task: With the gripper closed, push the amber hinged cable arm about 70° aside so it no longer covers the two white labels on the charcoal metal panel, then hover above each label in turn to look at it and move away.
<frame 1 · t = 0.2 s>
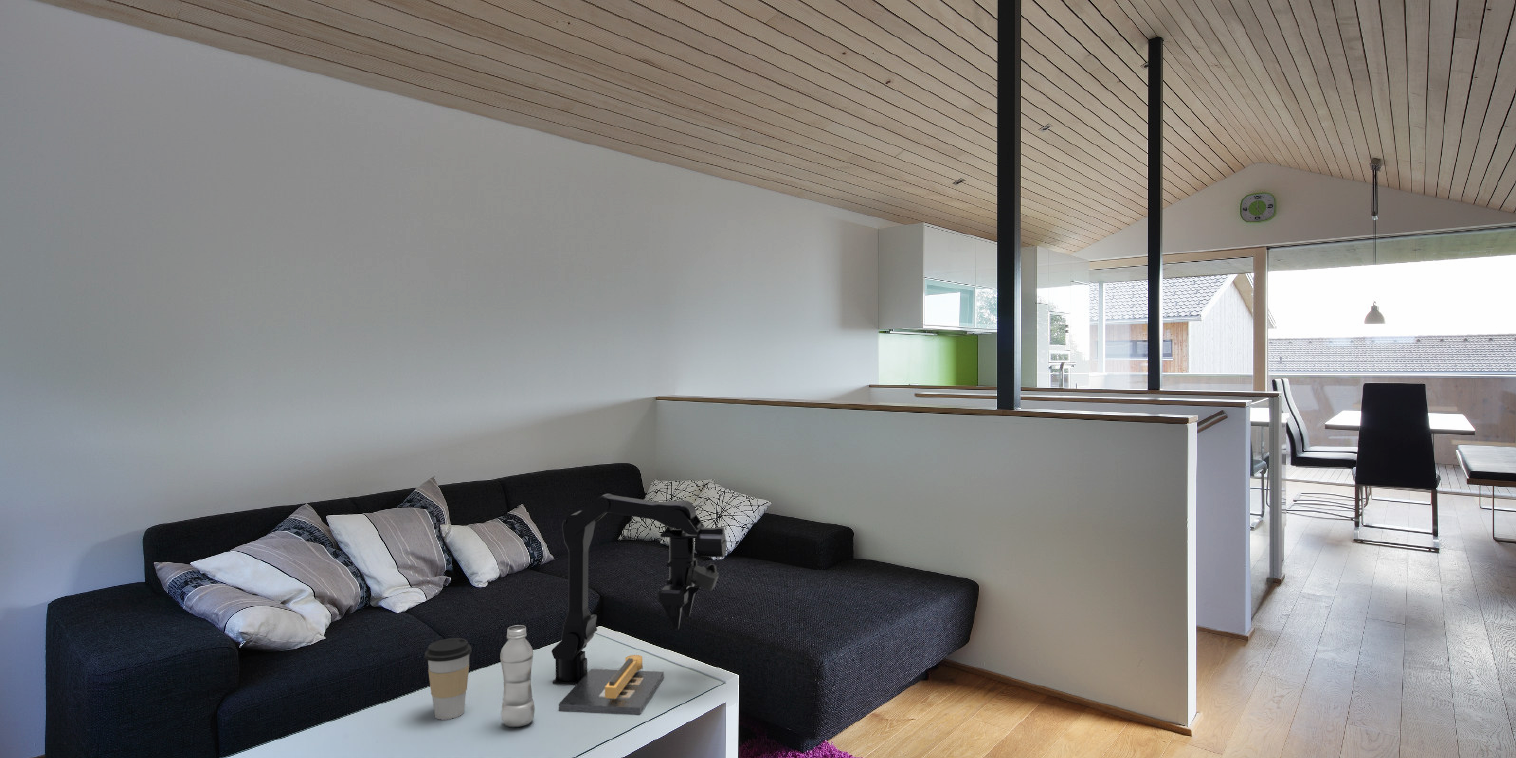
hand: (681, 622, 178), 14 cm above the table, tool pointing down, fingers open, 9 cm apart
plastic bottle: (518, 725, 159), on the table
coffee cup: (449, 714, 164), on the table
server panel: (614, 693, 174), on the table
cable arm: (624, 673, 175), point 4 cm above the table, hinge at 0.0°
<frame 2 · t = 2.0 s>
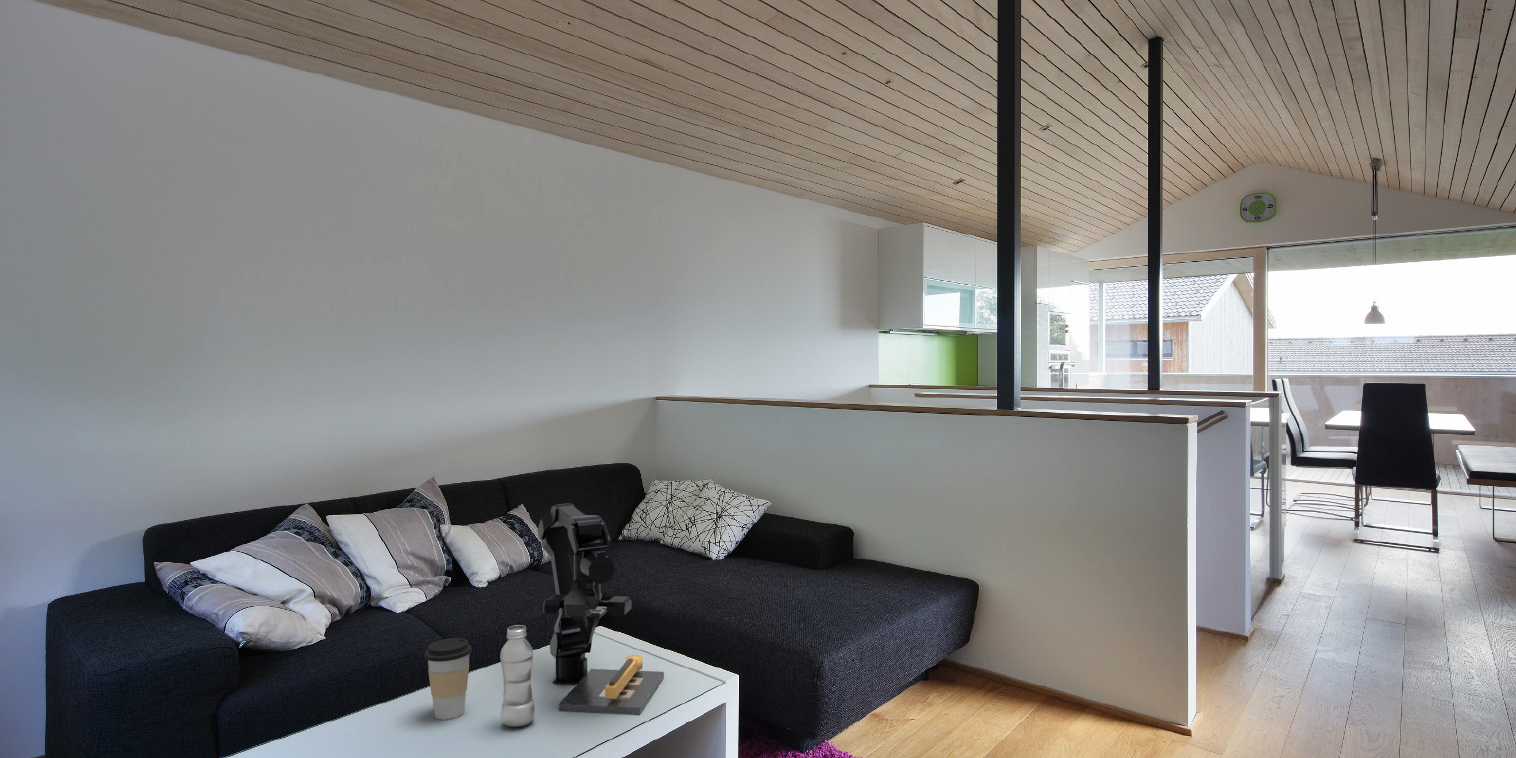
hand: (587, 643, 171), 13 cm above the table, tool pointing down, fingers closed
nothing on the table moved.
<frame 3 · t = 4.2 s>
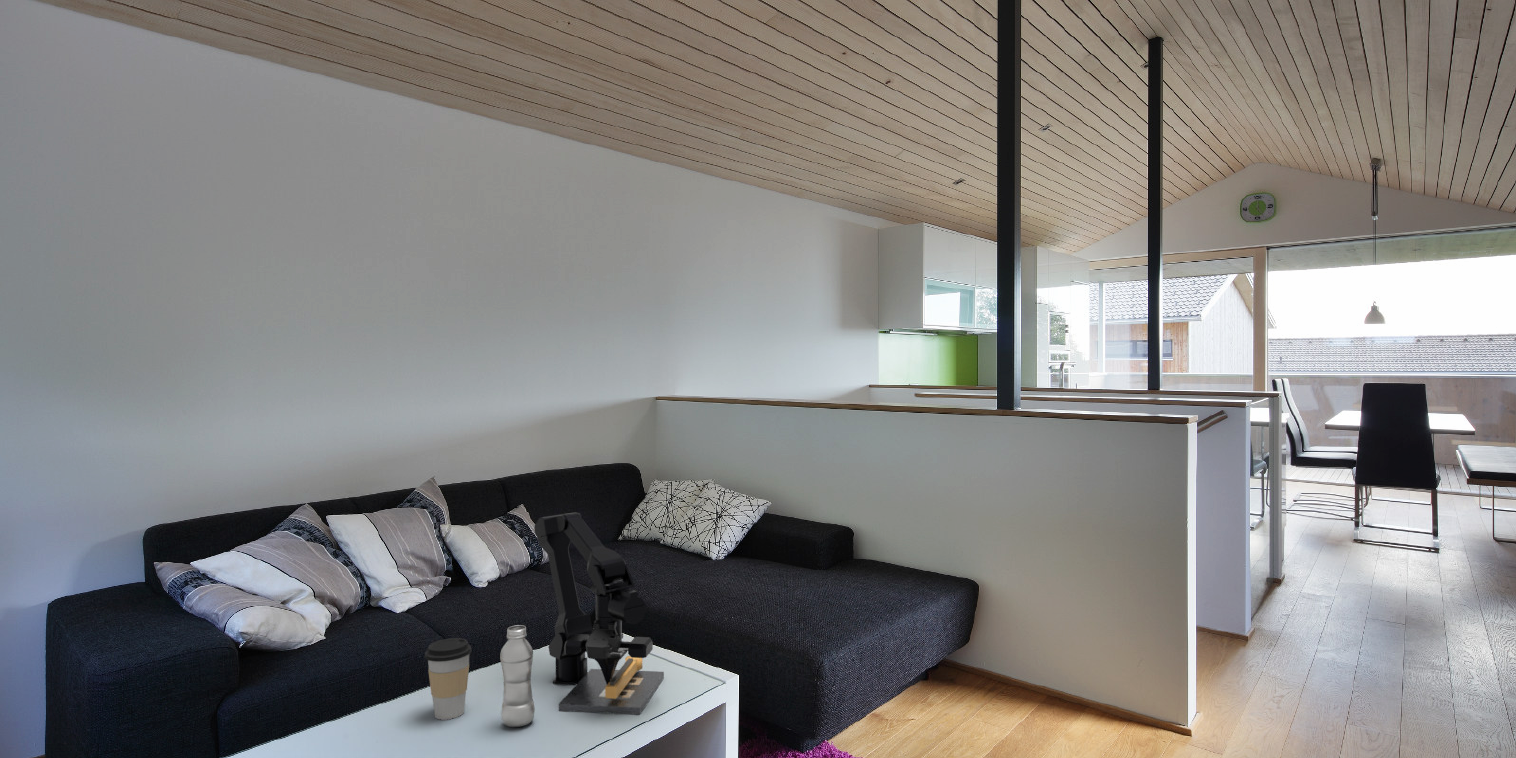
hand: (608, 684, 170), 4 cm above the table, tool pointing down, fingers closed
cable arm: (624, 673, 175), point 4 cm above the table, hinge at 0.3°, touching gripper
everything else where it was.
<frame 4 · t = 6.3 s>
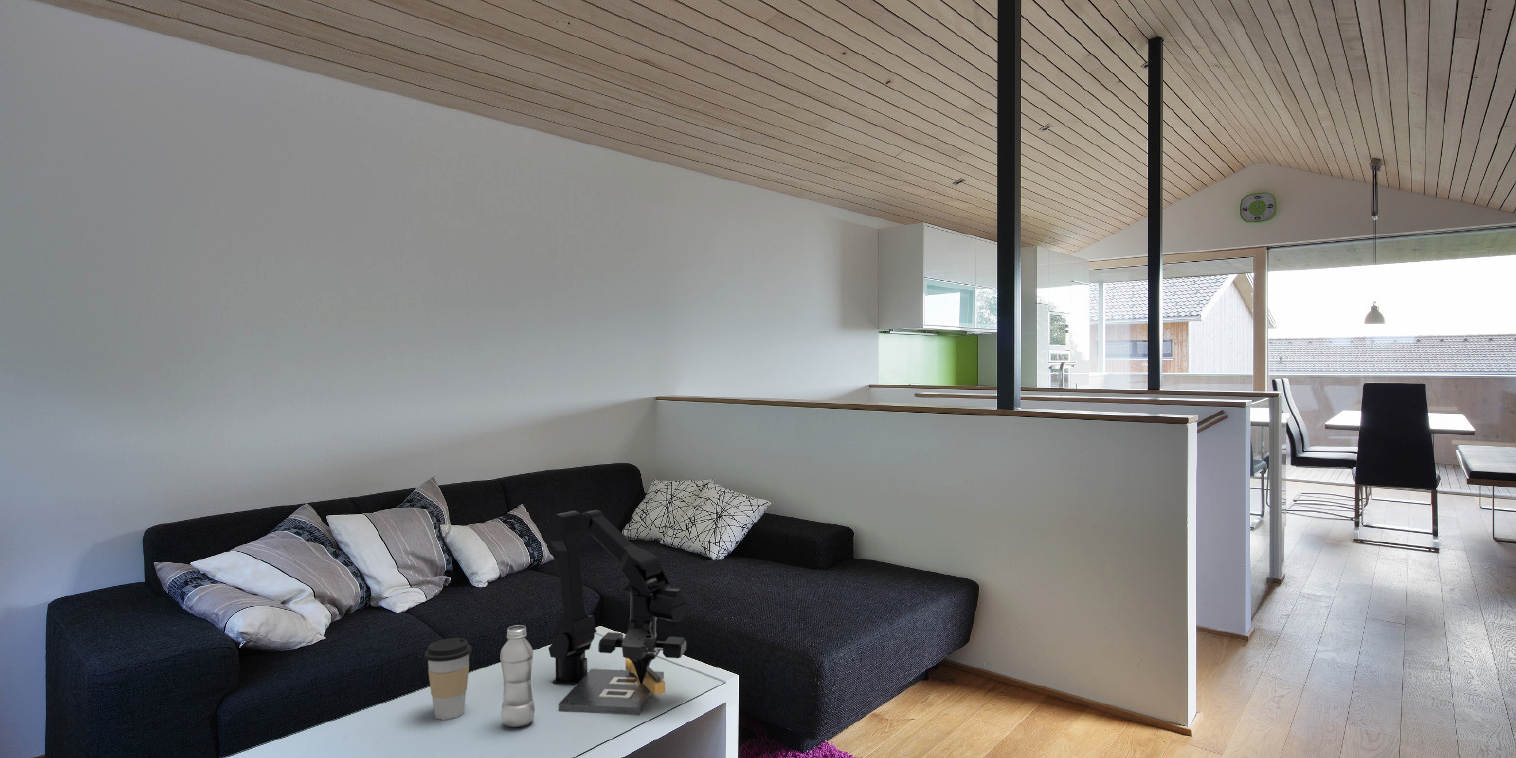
hand: (641, 683, 171), 4 cm above the table, tool pointing down, fingers closed
cable arm: (644, 672, 176), point 4 cm above the table, hinge at 35.7°, touching gripper
everything else where it was.
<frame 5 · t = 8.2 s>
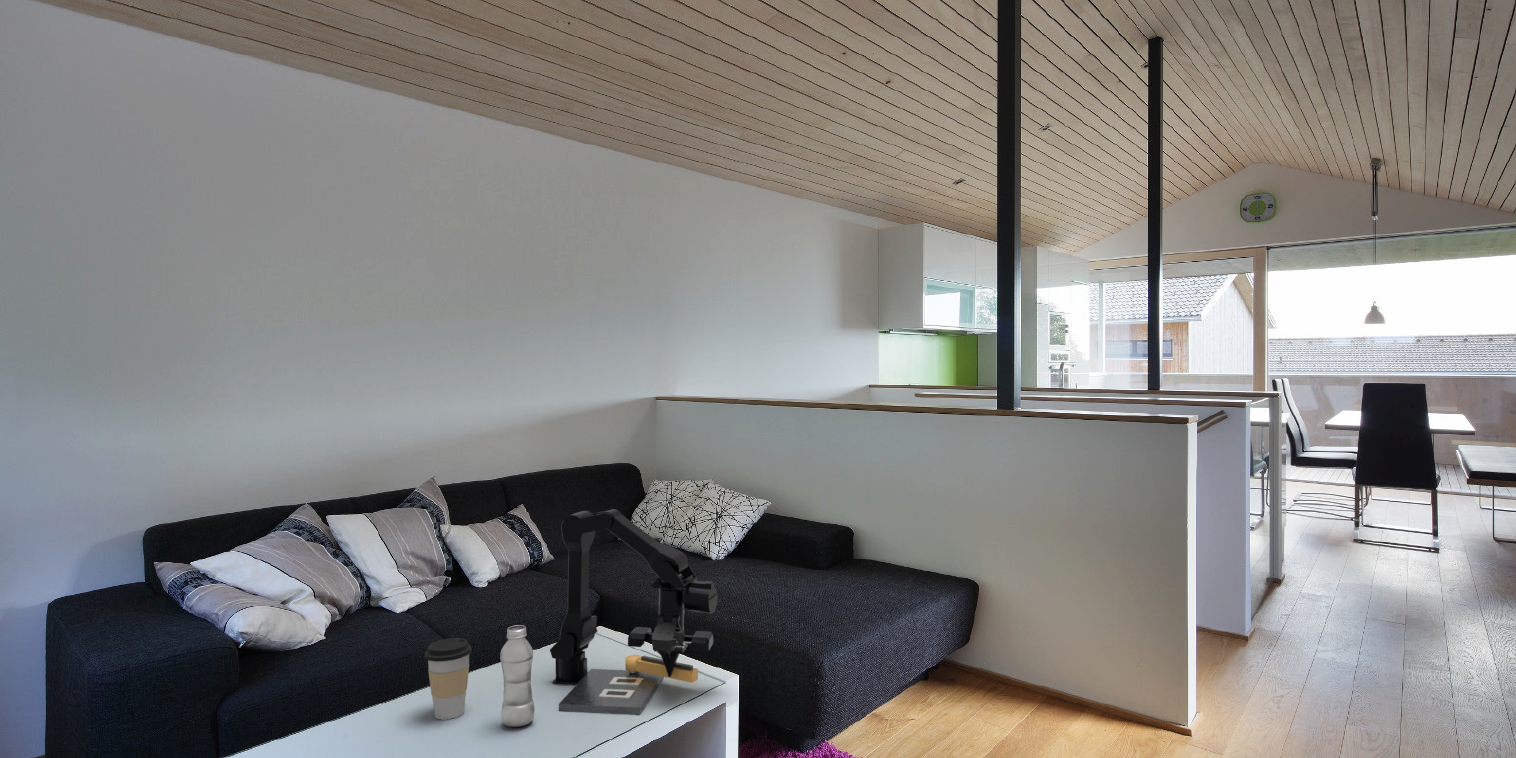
hand: (670, 676, 175), 3 cm above the table, tool pointing down, fingers closed
cable arm: (660, 666, 179), point 4 cm above the table, hinge at 69.0°, touching gripper
everything else where it was.
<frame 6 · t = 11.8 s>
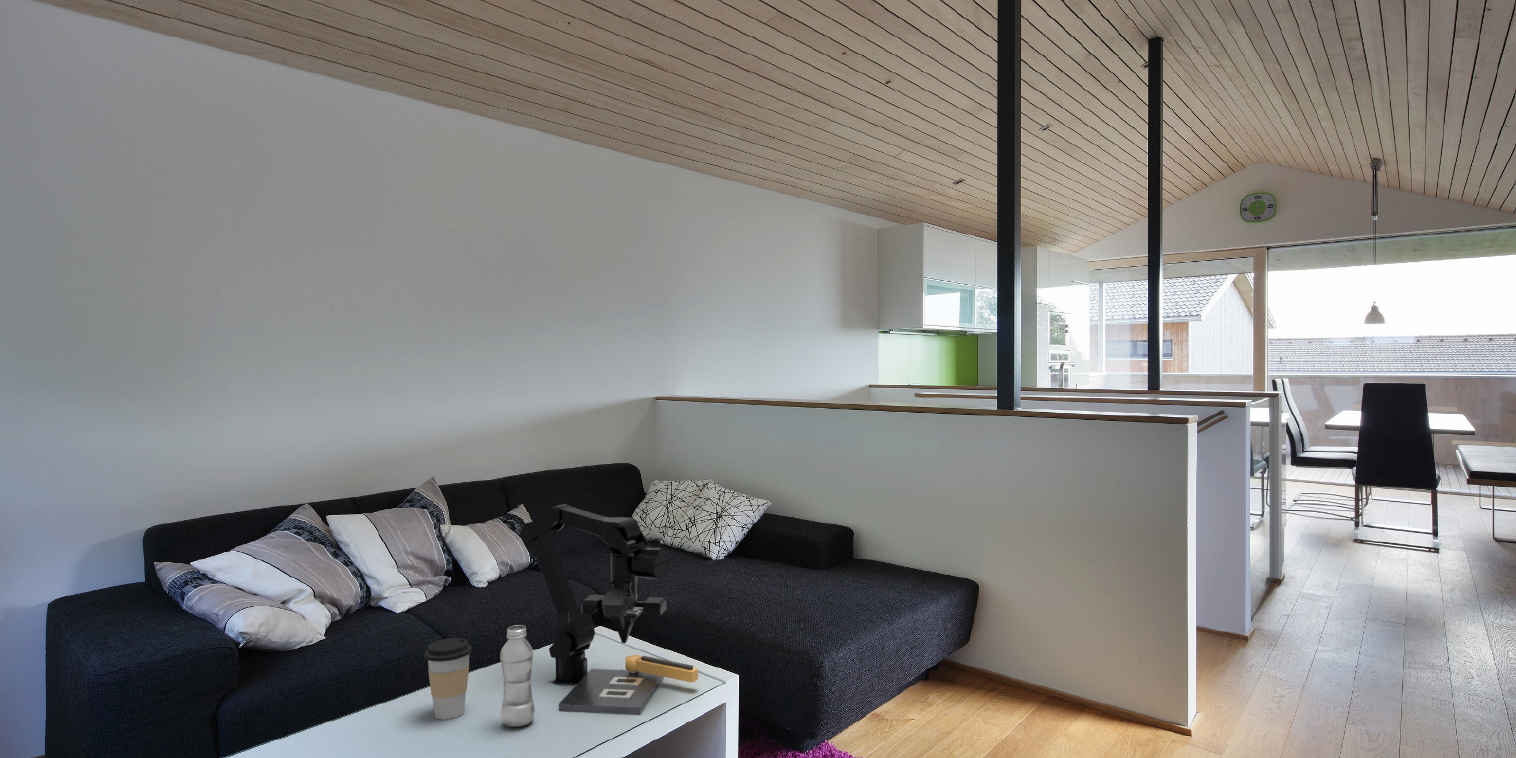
hand: (624, 642, 176), 11 cm above the table, tool pointing down, fingers closed
cable arm: (660, 666, 179), point 4 cm above the table, hinge at 69.2°
everything else where it was.
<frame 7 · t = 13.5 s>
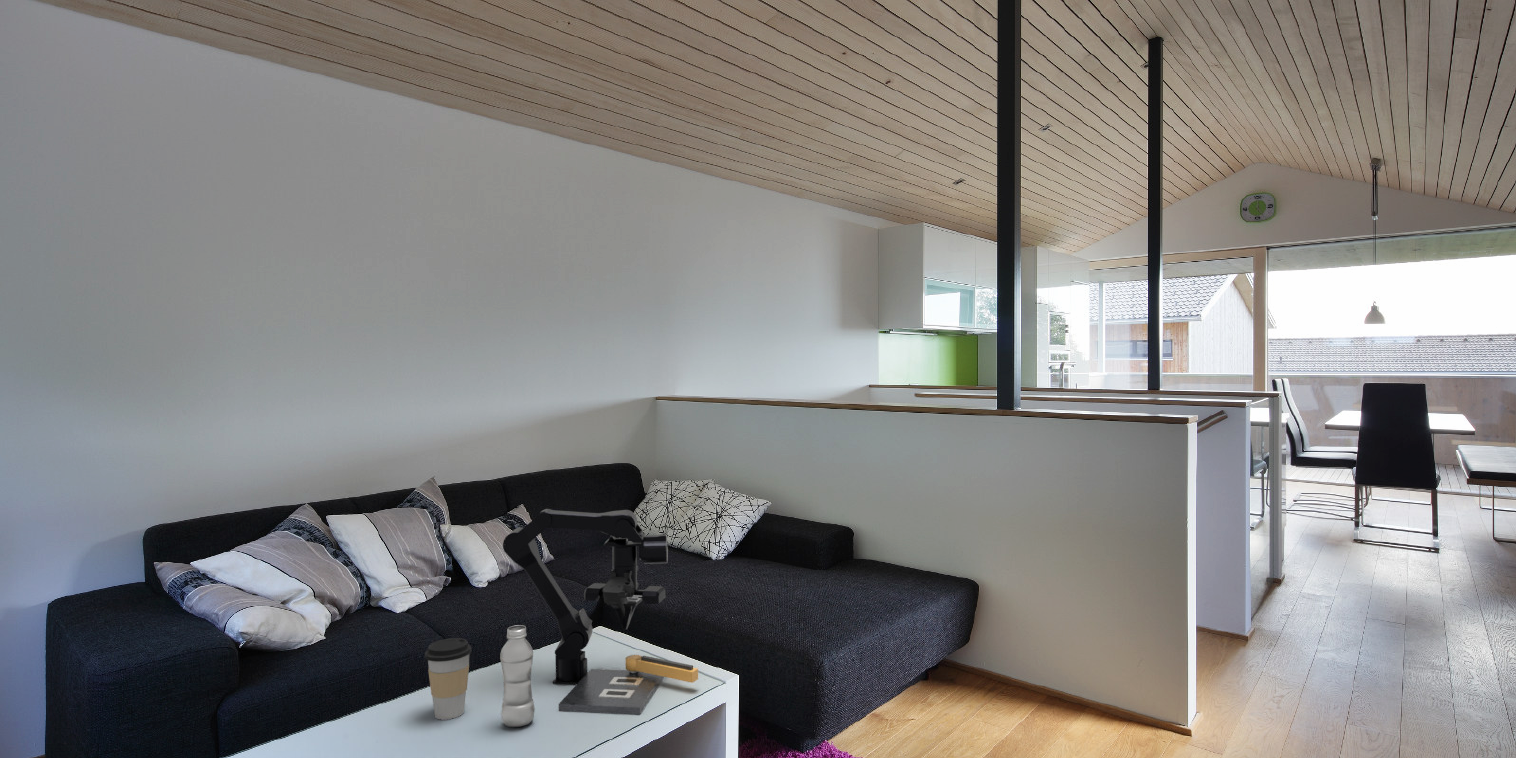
hand: (625, 629, 183), 11 cm above the table, tool pointing down, fingers closed
nothing on the table moved.
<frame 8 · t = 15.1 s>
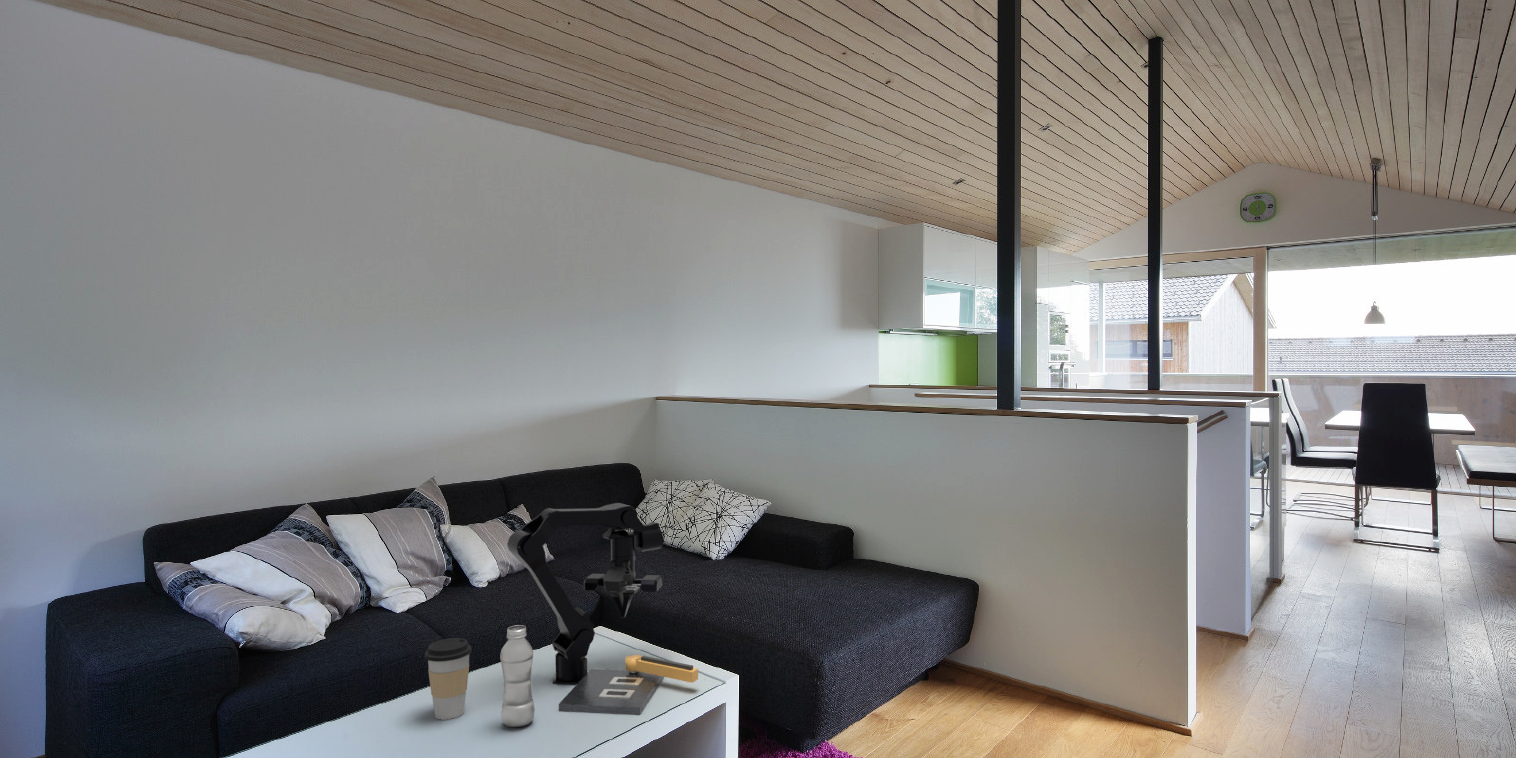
hand: (623, 617, 191), 12 cm above the table, tool pointing down, fingers closed
nothing on the table moved.
at the end: cable arm at +69° (first picture: +0°); plastic bottle moved 0.2 cm from its start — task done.
